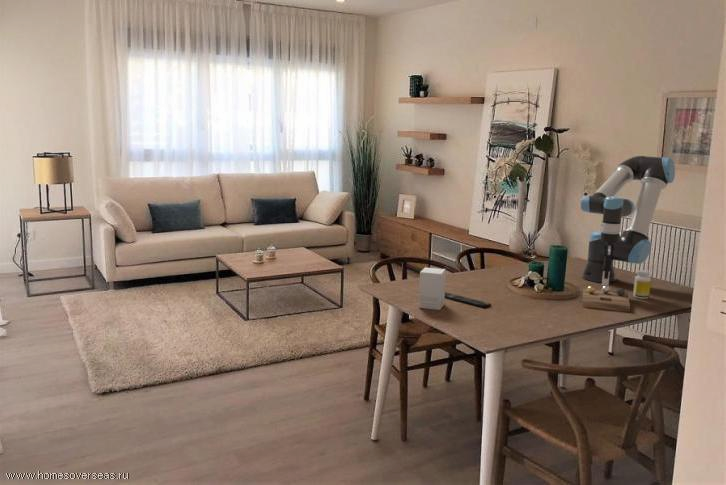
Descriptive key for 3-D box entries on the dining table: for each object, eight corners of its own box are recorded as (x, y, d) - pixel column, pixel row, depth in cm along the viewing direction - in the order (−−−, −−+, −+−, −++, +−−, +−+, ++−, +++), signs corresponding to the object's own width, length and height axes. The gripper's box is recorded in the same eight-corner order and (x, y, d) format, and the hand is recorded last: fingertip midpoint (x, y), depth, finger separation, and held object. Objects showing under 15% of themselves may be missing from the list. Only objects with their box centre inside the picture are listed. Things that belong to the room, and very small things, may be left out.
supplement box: (445, 304, 262) (446, 268, 259) (440, 310, 254) (441, 274, 251) (423, 301, 265) (424, 266, 262) (418, 307, 257) (419, 271, 254)
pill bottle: (650, 299, 275) (653, 273, 272) (634, 298, 276) (637, 272, 273) (647, 295, 281) (650, 269, 278) (631, 294, 282) (634, 268, 280)
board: (582, 293, 281) (583, 288, 281) (626, 298, 276) (627, 292, 275) (582, 306, 263) (582, 300, 262) (629, 311, 257) (630, 305, 257)
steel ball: (601, 291, 276) (602, 284, 276) (609, 292, 275) (609, 285, 275) (601, 293, 273) (602, 286, 273) (609, 294, 272) (610, 287, 272)
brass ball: (586, 292, 275) (587, 284, 275) (594, 292, 274) (595, 285, 274) (586, 293, 272) (587, 286, 272) (594, 294, 271) (595, 287, 271)
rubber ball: (616, 293, 273) (616, 286, 273) (624, 294, 272) (625, 287, 272) (616, 295, 270) (617, 288, 270) (624, 296, 269) (625, 289, 269)
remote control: (444, 295, 277) (444, 292, 277) (492, 307, 262) (492, 304, 261) (436, 297, 274) (437, 294, 273) (485, 310, 258) (485, 306, 257)
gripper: (601, 229, 284) (595, 280, 288) (601, 234, 272) (596, 287, 276) (619, 230, 281) (613, 282, 286) (620, 235, 269) (614, 289, 274)
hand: (605, 285), depth 281 cm, fingers closed
